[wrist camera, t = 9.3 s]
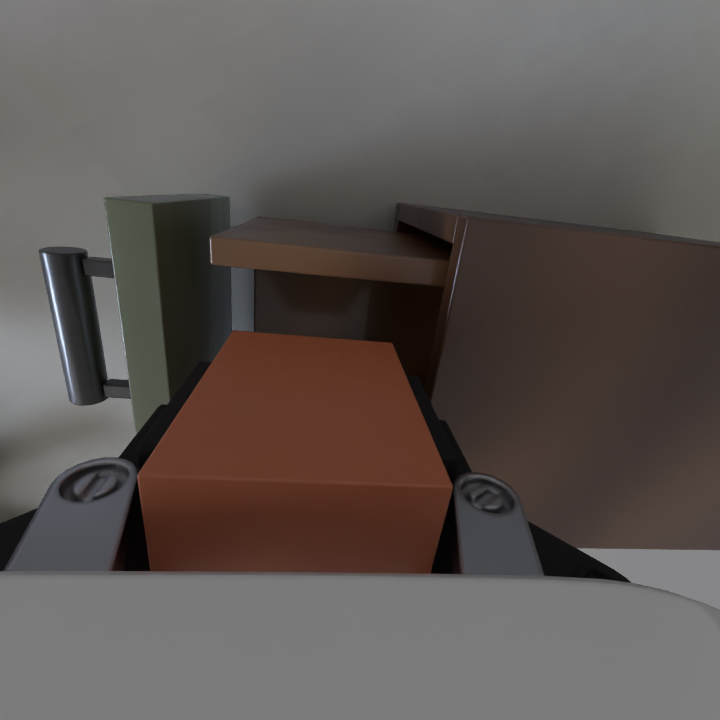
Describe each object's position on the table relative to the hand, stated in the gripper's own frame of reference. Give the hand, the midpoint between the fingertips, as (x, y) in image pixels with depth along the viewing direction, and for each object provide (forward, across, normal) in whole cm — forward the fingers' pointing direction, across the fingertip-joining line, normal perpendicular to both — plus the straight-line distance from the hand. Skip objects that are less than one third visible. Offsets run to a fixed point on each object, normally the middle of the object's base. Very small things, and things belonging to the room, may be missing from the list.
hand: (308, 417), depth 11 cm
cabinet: (+11, -11, 0) cm, 16 cm away
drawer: (+10, +1, 0) cm, 10 cm away
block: (+1, 0, 0) cm, 1 cm away
